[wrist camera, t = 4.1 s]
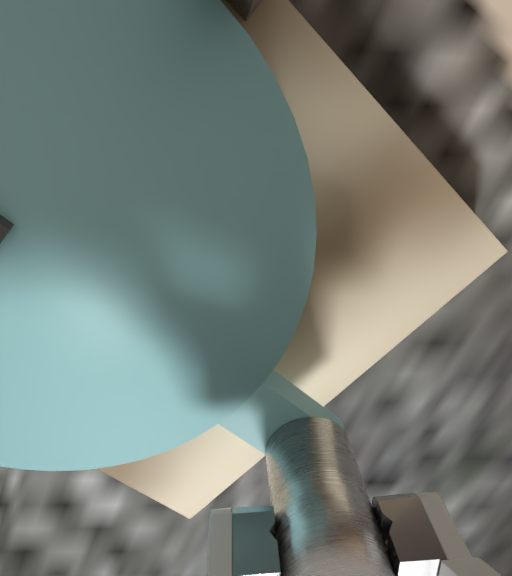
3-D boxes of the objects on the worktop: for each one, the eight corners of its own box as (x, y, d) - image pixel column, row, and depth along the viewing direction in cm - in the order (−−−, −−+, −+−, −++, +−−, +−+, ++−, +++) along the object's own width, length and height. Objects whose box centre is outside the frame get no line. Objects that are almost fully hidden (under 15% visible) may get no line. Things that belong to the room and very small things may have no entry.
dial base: (472, 230, 15) (618, 318, 9) (193, 476, 19) (179, 639, 13) (-156, -475, 8) (-967, -1653, 3) (-378, 143, 12) (-878, 194, 7)
